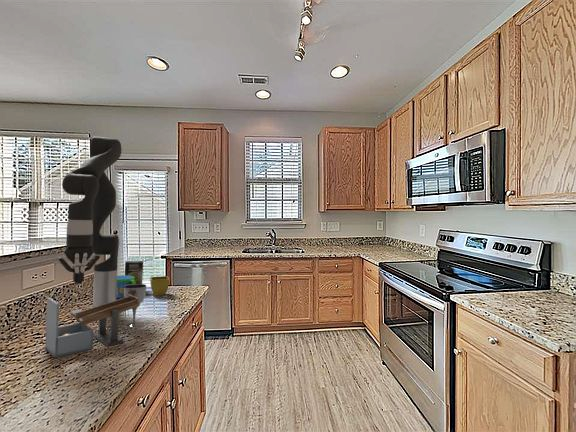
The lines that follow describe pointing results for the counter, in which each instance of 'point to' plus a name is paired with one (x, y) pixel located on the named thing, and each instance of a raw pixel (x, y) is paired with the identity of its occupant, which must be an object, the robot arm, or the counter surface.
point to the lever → (105, 310)
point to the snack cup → (123, 284)
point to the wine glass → (138, 292)
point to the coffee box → (134, 270)
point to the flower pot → (159, 285)
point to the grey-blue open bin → (67, 344)
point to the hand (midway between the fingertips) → (78, 283)
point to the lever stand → (106, 335)
